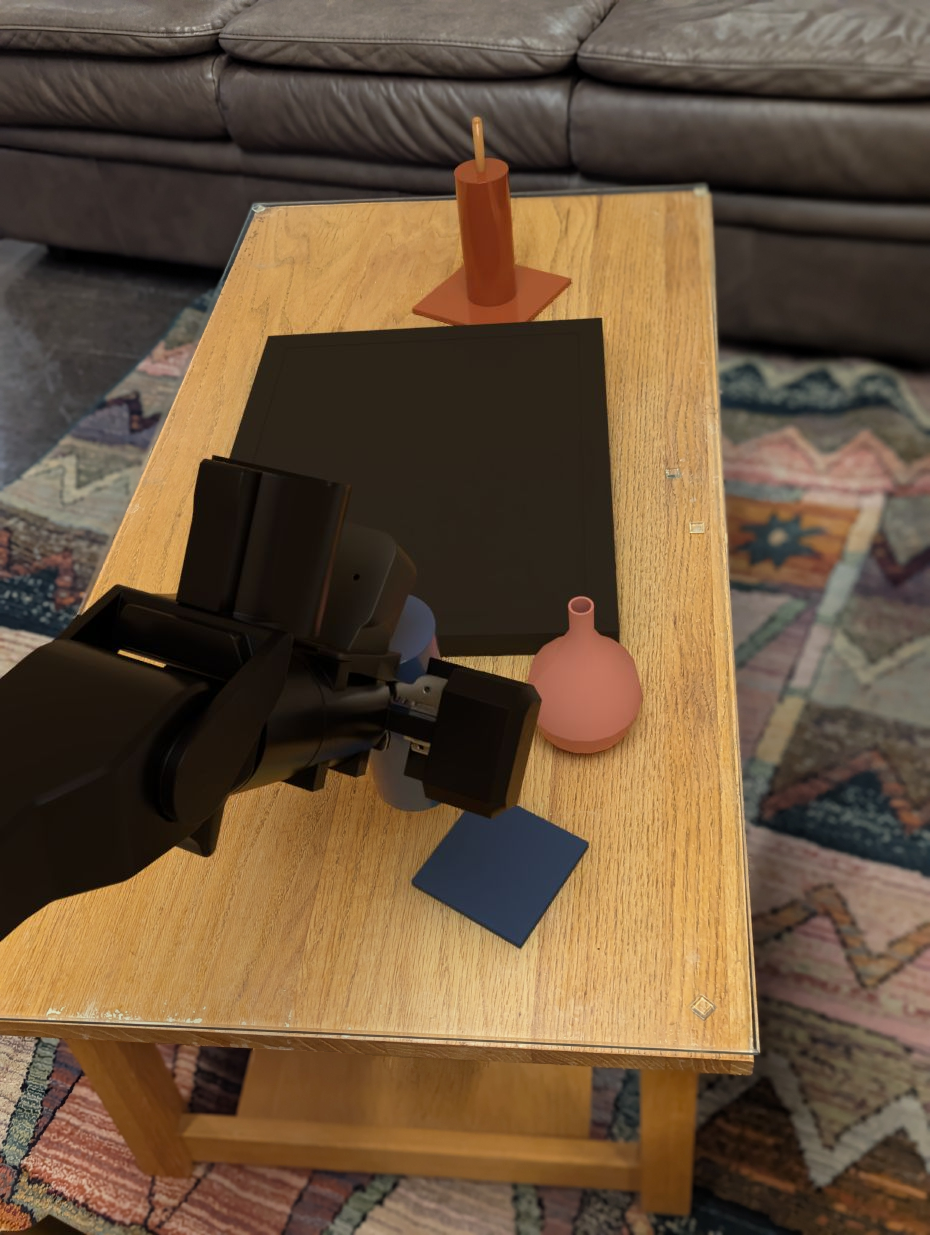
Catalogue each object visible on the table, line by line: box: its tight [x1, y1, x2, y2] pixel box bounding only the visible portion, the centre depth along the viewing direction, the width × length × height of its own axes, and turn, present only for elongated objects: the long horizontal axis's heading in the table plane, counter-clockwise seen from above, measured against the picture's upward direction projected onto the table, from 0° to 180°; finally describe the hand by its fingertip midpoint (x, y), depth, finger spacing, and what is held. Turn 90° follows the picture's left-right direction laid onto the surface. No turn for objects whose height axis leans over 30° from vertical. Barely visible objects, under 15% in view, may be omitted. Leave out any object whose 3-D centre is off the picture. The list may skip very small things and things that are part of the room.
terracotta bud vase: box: [526, 597, 644, 754], centre depth 69 cm, size 8×8×12 cm
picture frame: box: [228, 317, 621, 658], centre depth 92 cm, size 40×2×33 cm
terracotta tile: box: [411, 263, 572, 326], centre depth 112 cm, size 12×12×1 cm
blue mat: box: [410, 804, 590, 950], centre depth 67 cm, size 8×8×1 cm
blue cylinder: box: [367, 594, 443, 813], centre depth 59 cm, size 5×5×13 cm
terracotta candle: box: [453, 116, 517, 306], centre depth 105 cm, size 5×5×18 cm
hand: (413, 688), depth 60 cm, fingers closed on blue cylinder, 5 cm apart
